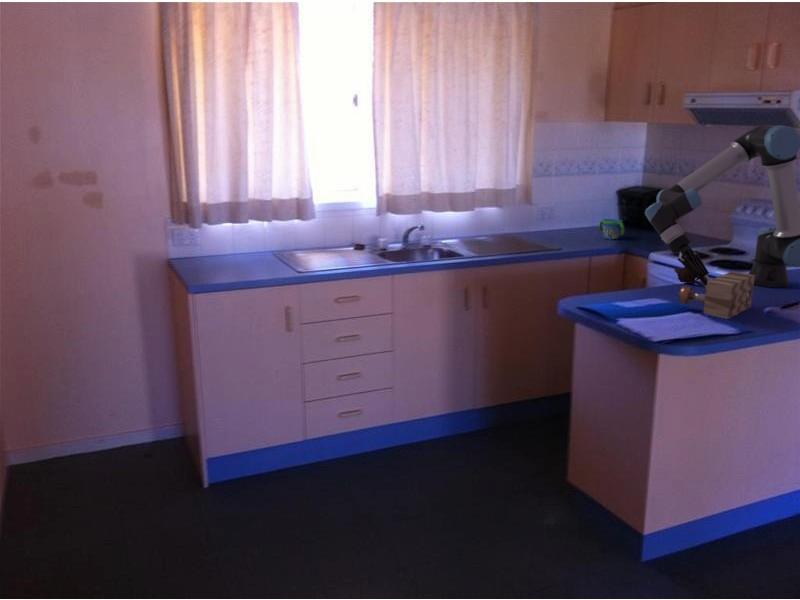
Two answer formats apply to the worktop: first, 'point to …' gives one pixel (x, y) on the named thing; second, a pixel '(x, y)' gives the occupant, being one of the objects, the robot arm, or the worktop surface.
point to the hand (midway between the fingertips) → (714, 291)
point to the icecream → (685, 275)
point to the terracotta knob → (690, 295)
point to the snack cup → (611, 228)
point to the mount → (728, 294)
